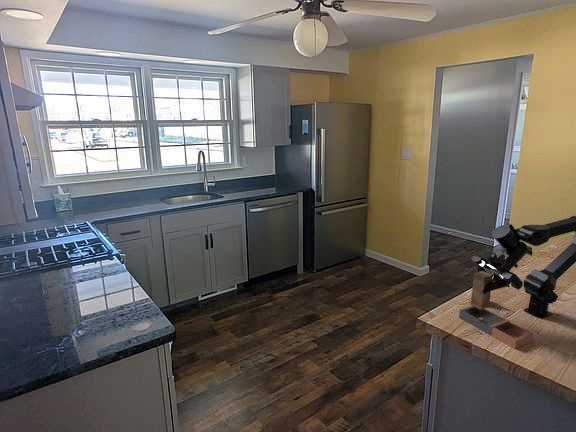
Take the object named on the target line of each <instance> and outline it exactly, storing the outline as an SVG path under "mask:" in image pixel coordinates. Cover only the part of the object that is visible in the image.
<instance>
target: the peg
mask: <svg viewBox="0 0 576 432" xmlns="http://www.w3.org/2000/svg"><path fill="white" fill-rule="evenodd" d="M493 276H494V274H491V273H489V272H488V273H486V272H484V271H480V272H478V271H477V272H473V280H472V284H473V285H472V289H471V299H470V306H474V307H476V308H478V309H480V310H482V309H487V308H489V307H490V300H491V292H492V291H490V292H487V293H483V292H482V291H483V289H484V288H485V287H486V286H487V285H488V284H489V283H490V281H491V280H492V279H493Z"/></svg>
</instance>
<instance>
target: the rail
mask: <svg viewBox="0 0 576 432" xmlns="http://www.w3.org/2000/svg"><path fill="white" fill-rule="evenodd" d="M474 315H478V316H480V317H482V319H480V318H478V317H476V316H474ZM458 317H459V319H461V320H463V321H464V322H466V323H468V324H470V326H471V325H472V326H473V327H474V328H477V329H479V330H480V331H482V332H483V333H486V334H487V335H489V336H491V337H493V338H495V339H496V340H498V341H500V342H502V343H503V344H505V345H506V346H508V347H511V348H512V349H514V350H515V349H518V348H520V347H523V346H525V345H528V344H530V343H532V342H533V340H534V335H535V334H534V332H532V331H529V330H528V329H526V328H524V327H521V326H520V325H519V324H517V323H514V322H512V321H510V319H506V318H504V317H502V316H500V315H498V314H496V313H495V312H492V311H490V310H488V309H487V308H485V309H482V310H480V309H478V308H476V307H474V306H472V305H470V306H467V307H465V308H462V309H459V315H458ZM505 331H509V332H511V333H512V334H514V335H516V336H518V337H513V336H511V335H509V334H508V333H506V332H505Z"/></svg>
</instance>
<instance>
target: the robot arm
mask: <svg viewBox="0 0 576 432" xmlns="http://www.w3.org/2000/svg"><path fill="white" fill-rule="evenodd" d="M573 232H574V234H573V241H572V243H570V244H569V245H568V246H567V247H566V248H565V249H564V250H562V252H561V253H560V254H558V255H557V256H556V257H555V259H553V260H552V261H551V262H550V263H549V264H548V265H547V266H546V267H544V268H543V269H541V270H538V269H536V268H534V269H533V270H532V271H531V272H530V273H529V274H527V275H526V276H525V278H524V280H523V281H522V279H521V278H520V277H519V276H518V275H517V274H516V273H514V272H513V271H511V270H512V269H513V268H516V269H517V268H518V266H519V265H518V264H517V263H519V262H520V261H521V260H522V259H523V258H524V257H525V256H526V255H528V256H530V257H531V256H533V247H532V246H534V247H539V246H541V245H544V244H546V243H547V242H549V240H550V239H552V238H554V237H558V236H559V237H560V236H563V235H565V234H569V233H573ZM491 235H492V237H493V239H494V240H495V241H496V242H497V243H498V244H499V245H500V247H502V248H503V250H502V251H500V250H498V251H496V252H493V251H490V250H489V249H486V248H483V250H482V252H480V253H481V254H480V255H479V254H475V255H473V256H472V258H471V261H472V262H473V263H474V264H475V265H476V267H477V272H480V271H484V272H486V273H489V272H491V273H493V277H492V280H491V281H490V283H489V284H488V285H487V286H486V287H485V288H484V289H483V291H482V292H483V293H487V292H490V291H491V292H492V291H496V290H499V289H502V288H510V285H511V287H512V288H514V289H515V290H517V291H519V290H520V289H521V288H522V287H523V288H524V292H525V294H528V295H530V297H529V301H528V302H529V303H528V307H526V308H523V312H526V313H528V314H530V315H532V316H535V317H537V318H539V319H543V318H547V317H548V316H551V315H553V313H552V312H551V311H549V305H550V304H554V303H556V302H557V300H558V298H559V296H558V295H557V293H556V292H555V289H556V285H557V281H558V279H559V278H560V277H562V276H563V274H565V273H566V272H567V271H568V270H569V269H570V268H571V267H572V266H573V265H574V264H575V263H576V215H572V216H570V217H568V218H563V219H560V220H556V221H553V222H550V223H549V222H548V223H544V224H524V225H522V226H520V227H517V228H515V227H514V225H513V224H511V223H509V222H506V223H505V224H502V225H499V226H498V227H495V228H494V229H493V230H492V232H491ZM526 243H527V244H529V245H531V246H529V245H527V244H526ZM471 285H472V286H473V283H472V284H471Z"/></svg>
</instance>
